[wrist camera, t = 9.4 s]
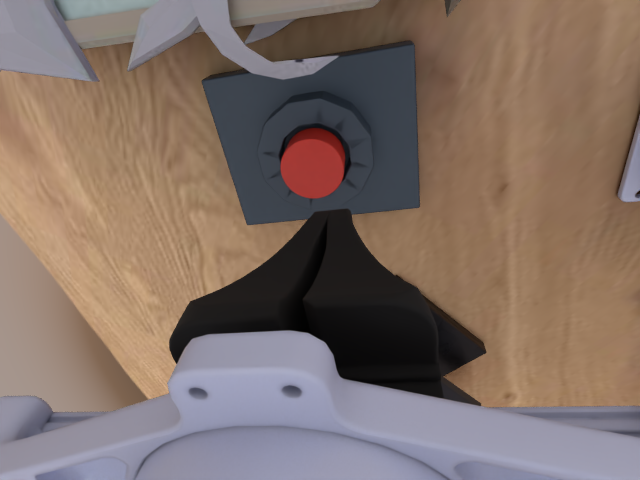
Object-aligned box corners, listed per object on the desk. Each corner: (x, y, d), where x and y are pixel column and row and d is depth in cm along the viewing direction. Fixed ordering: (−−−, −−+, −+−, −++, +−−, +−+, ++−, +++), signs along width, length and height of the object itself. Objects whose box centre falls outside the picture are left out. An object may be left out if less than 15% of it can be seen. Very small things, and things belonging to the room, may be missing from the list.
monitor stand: (396, 274, 28) (401, 313, 24) (483, 342, 31) (498, 386, 27) (317, 334, 32) (312, 375, 29) (400, 389, 35) (404, 431, 32)
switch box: (411, 39, 19) (419, 48, 17) (417, 197, 24) (423, 221, 22) (209, 75, 21) (188, 87, 19) (251, 215, 26) (240, 239, 24)
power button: (340, 123, 19) (339, 134, 18) (348, 180, 21) (348, 195, 20) (280, 132, 20) (273, 143, 18) (292, 187, 22) (287, 202, 20)
